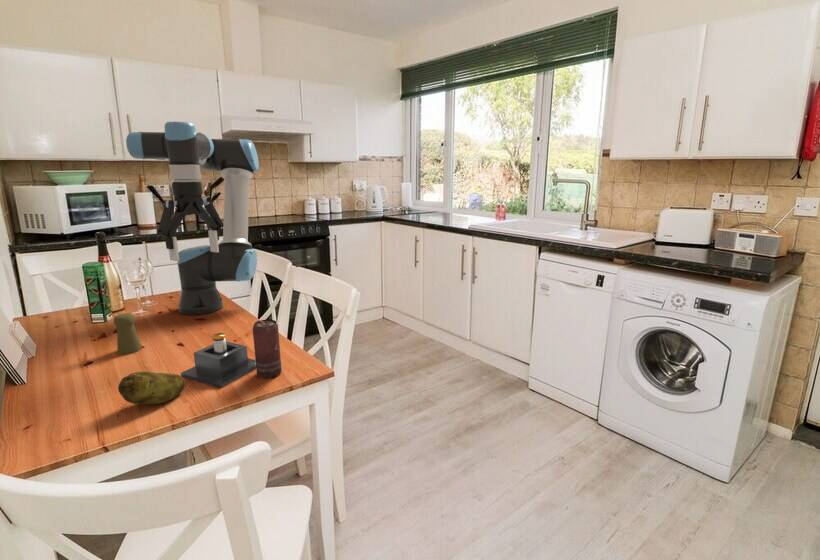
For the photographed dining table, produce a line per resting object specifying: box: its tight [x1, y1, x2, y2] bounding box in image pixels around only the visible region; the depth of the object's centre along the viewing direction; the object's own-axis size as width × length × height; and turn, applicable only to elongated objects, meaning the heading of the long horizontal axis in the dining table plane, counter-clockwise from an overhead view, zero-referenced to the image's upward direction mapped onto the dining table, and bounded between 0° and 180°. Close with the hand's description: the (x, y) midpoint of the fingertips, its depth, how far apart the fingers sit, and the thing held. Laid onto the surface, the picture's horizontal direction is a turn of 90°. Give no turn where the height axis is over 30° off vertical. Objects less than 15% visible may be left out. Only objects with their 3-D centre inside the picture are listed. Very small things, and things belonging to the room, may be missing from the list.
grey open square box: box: [193, 341, 249, 378], centre depth 115 cm, size 9×9×5 cm
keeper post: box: [180, 332, 256, 389], centre depth 115 cm, size 14×14×10 cm
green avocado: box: [117, 370, 186, 405], centre depth 100 cm, size 8×13×8 cm, turn 121°
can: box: [252, 319, 282, 379], centre depth 113 cm, size 6×6×14 cm
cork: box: [113, 312, 143, 355], centre depth 127 cm, size 6×6×11 cm
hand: (195, 256), depth 128 cm, fingers open, 13 cm apart
